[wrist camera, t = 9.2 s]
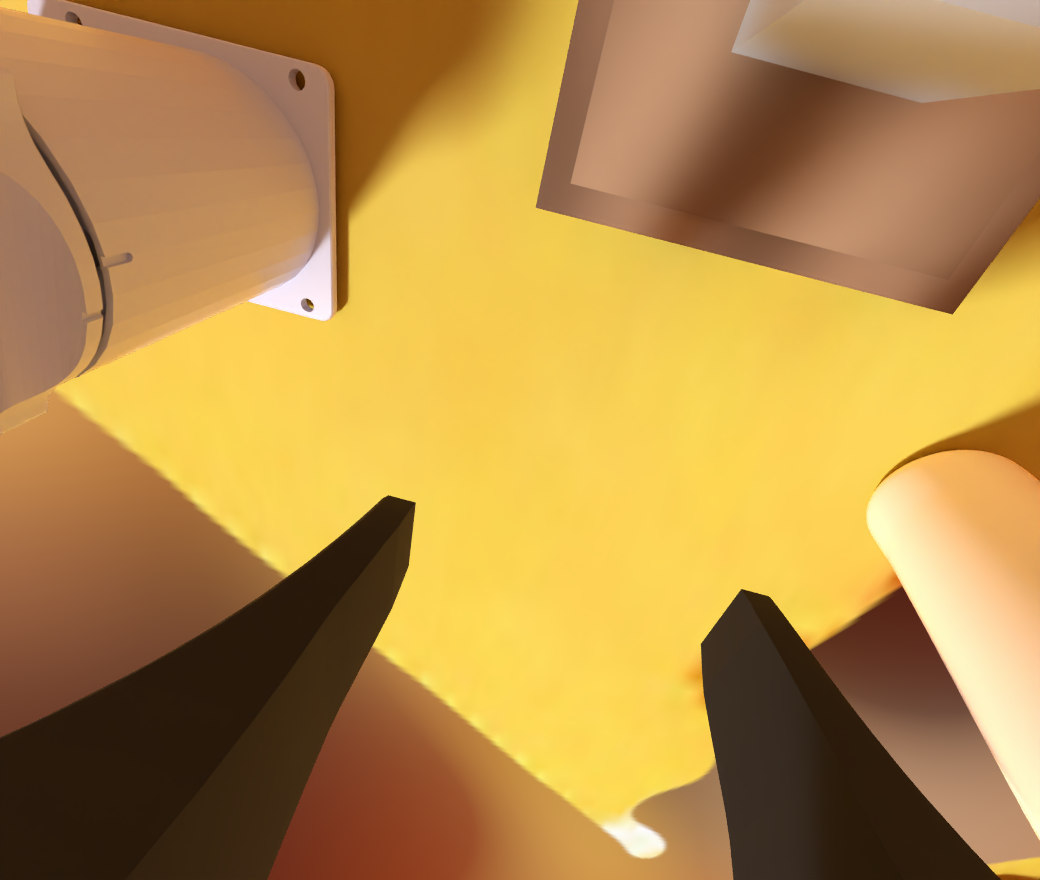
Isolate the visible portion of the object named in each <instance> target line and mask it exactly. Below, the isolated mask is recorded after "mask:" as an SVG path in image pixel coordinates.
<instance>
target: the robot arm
mask: <svg viewBox="0 0 1040 880" xmlns="http://www.w3.org/2000/svg"><path fill="white" fill-rule="evenodd" d="M27 7H28V13H25V12H20V11H15V10H11V9H6V8H2V7H0V435H1V434H3V433H5V432H7V431H9V430H11V429H13V428H15V427H17V426H19V425H21V424H23V423H25V422H27V421H29V420H32V419H34V418H36V417H38V416H40V415H42V414H44V413H46V412H47V411H48V399H49V396H50V394H51V392H52V391H53V390H54V389H55V388H56V387H58V386H59V385H61V384H63V383H65V382H67V381H69V380H71V379H72V378H75V377H79V376H81V375H83V374H85V373H88V372H90V371H92V370H94V369H97V368H99V367H101V366H103V365H105V364H108V363H110V362H112V361H114V360H117V359H119V358H121V357H123V356H126V355H128V354H130V353H132V352H134V351H137V350H139V349H141V348H143V347H146V346H148V345H150V344H152V343H155V342H157V341H159V340H161V339H163V338H166V337H168V336H170V335H172V334H175V333H177V332H179V331H181V330H184V329H186V328H188V327H190V326H192V325H195V324H197V323H199V322H201V321H204V320H206V319H208V318H210V317H213V316H215V315H217V314H219V313H221V312H224V311H226V310H228V309H230V308H233V307H235V306H237V305H239V304H242V303H244V302H246V301H248V302H252V303H256V304H259V305H263V306H267V307H271V308H275V309H279V310H282V311H286V312H290V313H294V314H298V315H302V316H305V317H309V318H313V319H317V320H321V321H327V320H329V319H331V318H332V317H334V316H335V314H336V312H337V268H336V181H335V93H334V83H333V80H332V78H331V75H330V73H329V72H328V71H327V70H326V69H325V68H324V67H322V66H320V65H318V64H314V63H310V62H306V61H302V60H298V59H294V58H290V57H286V56H283V55H279V54H275V53H271V52H267V51H263V50H259V49H255V48H251V47H247V46H243V45H239V44H235V43H231V42H227V41H223V40H219V39H216V38H212V37H208V36H204V35H200V34H196V33H192V32H188V31H184V30H180V29H176V28H172V27H168V26H164V25H160V24H156V23H153V22H149V21H145V20H141V19H137V18H133V17H129V16H125V15H121V14H117V13H113V12H109V11H105V10H101V9H97V8H93V7H90V6H86V5H82V4H78V3H74V2H70V1H66V0H28V1H27ZM78 17H79V19H80V21H81V23H82V25H79V24H78ZM299 71H301V72H302V74H303V75H304V78H305V87H304V88H303V89H302V90H300V89H299V87H298V86H297V83H296V74H297V73H298V72H299ZM306 299H309V300H311V301H312V303H313V304H314V309H312V308H310V307H309V306H308V304H307V301H306ZM415 504H416V503H415V502H411V501H407V500H404V499H400V498H396V497H392V496H389V495H388V496H386V497H384V498H383V499H382V500H381V501H379V502H378V503H377V504H376V505H375V506H374V507H373V508H372V509H371V510H370V511H369V512H367V513H366V514H365V515H364V516H363V517H362V518H361V519H360V520H358V521H357V522H356V523H355V524H354V525H353V526H351V527H350V528H349V529H348V530H347V531H345V532H344V533H343V534H342V535H341V536H340V537H338V538H337V539H336V540H335V541H333V542H332V543H331V544H330V545H328V546H327V547H326V548H325V549H323V550H322V551H321V552H320V553H318V554H317V555H316V556H315V557H313V558H312V559H311V560H309V561H308V562H307V563H306V564H304V565H303V566H302V567H300V568H299V569H297V570H296V571H295V572H293V573H292V574H291V575H289V576H288V577H286V578H285V579H284V580H282V581H281V582H279V583H278V584H277V585H275V586H274V587H273V588H271V589H270V590H268V591H267V592H266V593H264V594H263V595H261V596H260V597H258V598H257V599H255V600H254V601H252V602H251V603H249V604H248V605H246V606H245V607H243V608H242V609H240V610H239V611H237V612H236V613H234V614H233V615H231V616H229V617H228V618H226V619H225V620H223V621H221V622H220V623H218V624H217V625H215V626H213V627H212V628H210V629H209V630H207V631H205V632H204V633H202V634H200V635H198V636H197V637H195V638H193V639H192V640H190V641H188V642H186V643H185V644H183V645H181V646H179V647H178V648H176V649H174V650H173V651H171V652H169V653H167V654H166V655H164V656H162V657H161V658H158V659H157V660H155V661H153V662H151V663H150V664H148V665H146V666H144V667H142V668H140V669H139V670H137V671H135V672H133V673H131V674H129V675H127V676H125V677H123V678H121V679H119V680H117V681H115V682H113V683H111V684H109V685H107V686H106V687H103V688H101V689H99V690H98V691H96V692H94V693H91V694H90V695H88V696H86V697H84V698H82V699H80V700H78V701H76V702H74V703H72V704H70V705H68V706H66V707H64V708H62V709H60V710H58V711H56V712H54V713H52V714H50V715H48V716H46V717H43V718H41V719H39V720H37V721H35V722H33V723H31V724H29V725H27V726H24V727H22V728H20V729H18V730H16V731H13V732H11V733H9V734H7V735H5V736H3V737H1V738H0V880H267V879H268V876H269V874H270V871H271V869H272V866H273V864H274V861H275V859H276V856H277V854H278V851H279V849H280V846H281V844H282V841H283V839H284V836H285V834H286V831H287V829H288V827H289V824H290V822H291V819H292V817H293V814H294V812H295V809H296V807H297V805H298V802H299V800H300V797H301V795H302V793H303V790H304V788H305V785H306V783H307V781H308V778H309V776H310V774H311V771H312V769H313V766H314V764H315V762H316V759H317V757H318V755H319V752H320V750H321V748H322V745H323V743H324V740H325V738H326V736H327V733H328V731H329V729H330V727H331V725H332V723H333V721H334V719H335V716H336V714H337V712H338V710H339V708H340V706H341V704H342V702H343V700H344V699H345V697H346V695H347V693H348V691H349V689H350V687H351V685H352V683H353V682H354V680H355V678H356V676H357V674H358V672H359V670H360V668H361V666H362V664H363V662H364V661H365V659H366V657H367V655H368V653H369V651H370V649H371V647H372V646H373V644H374V642H375V640H376V638H377V636H378V634H379V632H380V630H381V628H382V626H383V624H384V623H385V621H386V619H387V617H388V615H389V613H390V611H391V609H392V607H393V604H394V602H395V599H396V597H397V594H398V592H399V589H400V587H401V584H402V581H403V579H404V576H405V574H406V571H407V569H408V566H409V557H410V548H411V539H412V531H413V522H414V513H415ZM701 655H702V676H703V689H704V697H705V703H706V709H707V715H708V720H709V726H710V731H711V737H712V742H713V748H714V753H715V758H716V764H717V769H718V774H719V780H720V785H721V790H722V796H723V801H724V806H725V812H726V818H727V825H728V832H729V838H730V847H731V858H732V868H733V878H734V880H1001V879H1000V878H999V877H998V876H997V875H996V874H995V873H994V872H993V871H992V870H991V869H990V868H989V867H988V866H987V865H986V864H985V863H984V861H983V860H982V859H981V858H979V856H978V855H977V854H976V853H975V852H974V851H973V850H972V849H971V848H970V847H969V845H968V844H967V843H966V842H965V841H964V840H963V839H962V838H961V837H960V835H959V834H958V833H957V832H956V831H955V830H954V829H953V828H952V827H951V825H950V824H949V823H948V822H947V821H946V820H945V819H944V818H943V816H942V815H941V814H940V813H939V812H938V811H937V810H936V809H935V808H934V807H933V805H932V804H931V803H930V802H929V801H928V800H927V799H926V797H925V796H924V795H923V794H922V793H921V792H920V791H919V790H918V788H917V787H916V786H915V785H914V783H913V782H912V781H911V780H910V779H909V778H908V777H907V775H906V774H905V773H904V772H903V770H902V769H901V768H900V767H899V766H898V764H897V763H896V762H895V761H894V759H893V758H892V757H891V756H890V755H889V753H888V752H887V751H886V750H885V748H884V747H883V746H882V745H881V743H880V742H879V741H878V740H877V739H876V737H875V736H874V735H873V734H872V732H871V731H870V730H869V728H868V727H867V726H866V725H865V723H864V722H863V721H862V720H861V718H860V717H859V716H858V715H857V713H856V712H855V711H854V709H853V708H852V707H851V705H850V704H849V703H848V701H847V700H846V699H845V697H844V696H843V695H842V694H841V692H840V691H839V689H838V688H837V687H836V685H835V684H834V683H833V681H832V680H831V679H830V677H829V676H828V675H827V673H826V672H825V671H824V669H823V668H822V667H821V665H820V664H819V662H818V661H817V660H816V658H815V657H814V656H813V654H812V653H811V651H810V650H809V649H808V647H807V646H806V645H805V643H804V642H803V640H802V639H801V638H800V636H799V635H798V634H797V632H796V631H795V630H794V628H793V627H792V625H791V624H790V623H789V621H788V620H787V619H786V617H785V616H784V615H783V613H782V612H781V611H780V609H779V608H778V607H777V606H776V604H775V603H774V602H773V600H772V599H771V598H770V597H769V596H765V595H762V594H758V593H754V592H750V591H747V590H743V589H741V591H740V592H739V593H738V595H737V596H736V597H735V599H734V600H733V601H732V603H731V604H730V605H729V607H728V608H727V609H726V611H725V612H724V614H723V615H722V616H721V618H720V619H719V620H718V622H717V623H716V624H715V626H714V627H713V628H712V630H711V631H710V632H709V634H708V635H707V637H706V638H705V639H704V641H703V642H702V643H701Z"/></svg>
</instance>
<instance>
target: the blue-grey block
mask: <svg viewBox="0 0 1040 880" xmlns="http://www.w3.org/2000/svg"><path fill="white" fill-rule="evenodd" d="M731 52H733V53H737V54H740V55H744V56H748V57H752V58H755V59H759V60H763V61H767V62H770V63H774V64H778V65H782V66H785V67H789V68H793V69H796V70H800V71H804V72H808V73H811V74H815V75H819V76H823V77H826V78H830V79H834V80H837V81H841V82H845V83H849V84H852V85H856V86H860V87H864V88H867V89H871V90H875V91H878V92H882V93H886V94H890V95H893V96H897V97H901V98H905V99H908V100H912V101H916V102H920V103H926V102H935V101H943V100H952V99H960V98H968V97H977V96H985V95H994V94H1002V93H1011V92H1019V91H1027V90H1036V89H1040V0H750V2H749V5H748V8H747V11H746V13H745V16H744V19H743V21H742V24H741V27H740V30H739V32H738V35H737V38H736V40H735V43H734V46H733V48H732V51H731Z"/></svg>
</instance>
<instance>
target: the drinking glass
mask: <svg viewBox="0 0 1040 880" xmlns="http://www.w3.org/2000/svg"><path fill="white" fill-rule="evenodd" d="M866 520H867V525H868V528H869V531H870V533H871V535H872V537H873V539H874V540H875V542H876V543H877V545H878V546H879V548H880V549H881V551H882V552H883V554H884V555H885V557H886V558H887V559H888V561H889V563H890V564H891V566H892V568H893V569H894V571H895V573H896V575H897V577H898V578H899V580H900V582H901V584H902V586H903V587H904V589H905V591H906V593H907V595H908V597H909V599H910V600H911V602H912V604H913V606H914V608H915V610H916V611H917V613H918V615H919V617H920V619H921V621H922V622H923V624H924V626H925V628H926V630H927V632H928V634H929V635H930V637H931V639H932V641H933V643H934V645H935V647H936V649H937V651H938V652H939V654H940V656H941V658H942V660H943V662H944V664H945V666H946V667H947V669H948V671H949V673H950V675H951V677H952V679H953V681H954V682H955V684H956V686H957V688H958V690H959V692H960V694H961V695H962V698H963V699H964V701H965V703H966V705H967V707H968V709H969V711H970V713H971V715H972V716H973V718H974V720H975V722H976V724H977V726H978V728H979V729H980V731H981V733H982V735H983V737H984V739H985V741H986V743H987V745H988V747H989V748H990V750H991V752H992V754H993V756H994V758H995V760H996V762H997V764H998V766H999V767H1000V769H1001V771H1002V773H1003V775H1004V777H1005V779H1006V781H1007V782H1008V784H1009V786H1010V788H1011V790H1012V792H1013V793H1014V795H1015V797H1016V799H1017V801H1018V803H1019V805H1020V806H1021V808H1022V810H1023V812H1024V814H1025V816H1026V817H1027V819H1028V821H1029V823H1030V824H1031V826H1032V828H1033V830H1034V832H1035V833H1036V835H1037V837H1038V839H1039V840H1040V481H1039V480H1038V479H1037V478H1035V477H1034V476H1033V475H1032V474H1030V473H1029V472H1028V471H1026V470H1025V469H1024V468H1022V467H1021V466H1020V465H1018V464H1017V463H1015V462H1013V461H1011V460H1010V459H1008V458H1005V457H1003V456H1000V455H997V454H994V453H990V452H985V451H979V450H952V451H945V452H939V453H935V454H931V455H928V456H924V457H922V458H919V459H916V460H914V461H912V462H910V463H908V464H906V465H904V466H902V467H900V468H899V469H897V470H896V471H894V472H893V473H891V474H890V475H889V476H888V477H887V478H885V479H884V480H883V481H882V482H881V483H880V485H879V486H878V487H877V488H876V490H875V491H874V492H873V494H872V496H871V498H870V500H869V503H868V506H867V512H866Z"/></svg>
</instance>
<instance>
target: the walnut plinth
mask: <svg viewBox="0 0 1040 880" xmlns="http://www.w3.org/2000/svg"><path fill="white" fill-rule="evenodd" d="M749 2H750V0H579V1H578V6H577V11H576V16H575V20H574V25H573V30H572V35H571V40H570V45H569V50H568V54H567V59H566V64H565V69H564V74H563V79H562V83H561V88H560V93H559V98H558V103H557V108H556V112H555V117H554V122H553V127H552V132H551V137H550V141H549V146H548V151H547V156H546V161H545V166H544V170H543V175H542V180H541V185H540V190H539V195H538V199H537V204H536V208H539V209H543V210H547V211H551V212H555V213H559V214H563V215H567V216H571V217H575V218H578V219H582V220H586V221H590V222H594V223H598V224H602V225H606V226H610V227H614V228H617V229H621V230H625V231H629V232H633V233H637V234H641V235H645V236H649V237H653V238H657V239H660V240H664V241H668V242H672V243H676V244H680V245H684V246H688V247H692V248H696V249H699V250H703V251H707V252H711V253H715V254H719V255H723V256H727V257H731V258H735V259H738V260H742V261H746V262H750V263H754V264H758V265H762V266H766V267H770V268H774V269H777V270H781V271H785V272H789V273H793V274H797V275H801V276H805V277H809V278H813V279H816V280H820V281H824V282H828V283H832V284H836V285H840V286H844V287H848V288H852V289H855V290H859V291H863V292H867V293H871V294H875V295H879V296H883V297H887V298H891V299H895V300H898V301H902V302H906V303H910V304H914V305H918V306H922V307H926V308H930V309H934V310H937V311H941V312H945V313H949V314H953V313H954V312H955V310H956V309H957V308H958V306H959V305H960V304H961V302H962V301H963V300H964V298H965V297H966V296H967V294H968V293H969V292H970V290H971V289H972V288H973V286H974V285H975V284H976V282H977V281H978V280H979V278H980V277H981V276H982V274H983V273H984V272H985V270H986V269H987V268H988V266H989V265H990V264H991V262H992V261H993V260H994V258H995V257H996V256H997V254H998V253H999V252H1000V250H1001V249H1002V248H1003V246H1004V245H1005V244H1006V242H1007V241H1008V240H1009V238H1010V237H1011V236H1012V234H1013V233H1014V232H1015V230H1016V229H1017V228H1018V226H1019V225H1020V224H1021V222H1022V221H1023V220H1024V218H1025V217H1026V216H1027V214H1028V213H1029V212H1030V210H1031V209H1032V208H1033V206H1034V205H1035V204H1036V202H1037V201H1038V200H1039V198H1040V89H1036V90H1027V91H1019V92H1011V93H1002V94H994V95H985V96H977V97H968V98H960V99H952V100H943V101H935V102H926V103H920V102H916V101H912V100H908V99H905V98H901V97H897V96H893V95H890V94H886V93H882V92H878V91H875V90H871V89H867V88H864V87H860V86H856V85H852V84H849V83H845V82H841V81H837V80H834V79H830V78H826V77H823V76H819V75H815V74H811V73H808V72H804V71H800V70H796V69H793V68H789V67H785V66H782V65H778V64H774V63H770V62H767V61H763V60H759V59H755V58H752V57H748V56H744V55H740V54H737V53H733V52H731V51H732V48H733V46H734V43H735V40H736V38H737V35H738V32H739V30H740V27H741V24H742V21H743V19H744V16H745V13H746V11H747V8H748V5H749Z"/></svg>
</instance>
